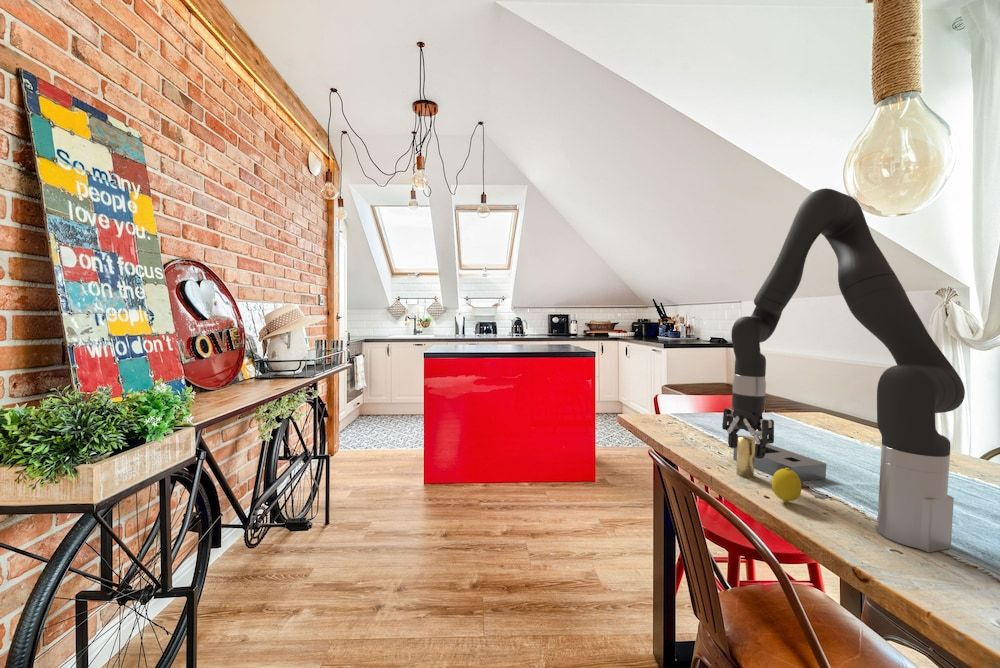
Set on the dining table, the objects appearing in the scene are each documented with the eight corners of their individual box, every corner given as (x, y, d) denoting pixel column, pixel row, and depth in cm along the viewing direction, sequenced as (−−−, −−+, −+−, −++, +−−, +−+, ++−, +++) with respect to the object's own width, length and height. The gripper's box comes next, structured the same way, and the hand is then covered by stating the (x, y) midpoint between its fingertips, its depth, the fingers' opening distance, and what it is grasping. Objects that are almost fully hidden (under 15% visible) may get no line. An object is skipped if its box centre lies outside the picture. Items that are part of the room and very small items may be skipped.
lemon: (791, 498, 98) (792, 464, 98) (806, 509, 92) (807, 472, 92) (766, 496, 98) (767, 462, 98) (779, 507, 93) (781, 471, 93)
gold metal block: (757, 477, 111) (758, 439, 110) (745, 478, 110) (746, 440, 109) (744, 471, 115) (746, 435, 114) (732, 472, 114) (734, 436, 113)
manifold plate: (733, 459, 125) (733, 445, 124) (765, 456, 128) (766, 443, 128) (789, 482, 107) (790, 467, 107) (825, 478, 111) (826, 463, 110)
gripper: (784, 397, 106) (780, 460, 106) (738, 386, 119) (735, 443, 120) (760, 398, 104) (756, 463, 104) (716, 387, 117) (713, 445, 118)
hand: (745, 452), depth 112 cm, fingers open, 8 cm apart
